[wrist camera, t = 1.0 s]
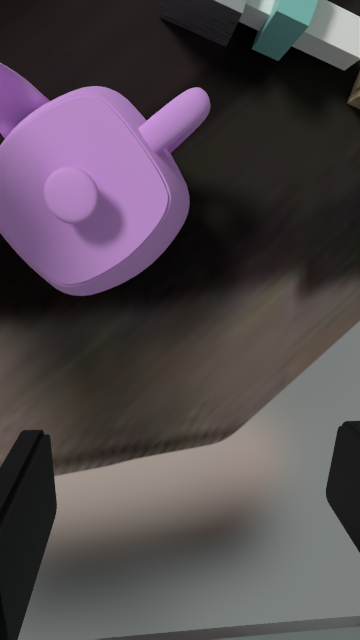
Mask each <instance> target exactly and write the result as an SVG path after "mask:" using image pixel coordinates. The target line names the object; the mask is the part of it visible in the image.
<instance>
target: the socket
mask: <svg viewBox="0 0 360 640" xmlns="http://www.w3.org/2000/svg"><path fill="white" fill-rule="evenodd" d="M347 104H350V105H352V106H354V107H356V108H359V109H360V71H359V74H358V76H357V79H356V81H355V83H354V86H353V88H352V91H351V93H350V96H349V98H348V101H347Z"/></svg>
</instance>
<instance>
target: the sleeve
mask: <svg viewBox="0 0 360 640" xmlns="http://www.w3.org/2000/svg"><path fill="white" fill-rule="evenodd" d="M245 4H246V0H161V5H160V18H162V19H165V20H167V21H169V22H171V23H174V24H176V25H178V26H180V27H183V28H185V29H187V30H189V31H192V32H194V33H196V34H198V35H200V36H203V37H205V38H207V39H209V40H212V41H214V42H216V43H218V44H221V45H223V46H225V47H226V46H227V44H228V42H229V40H230V38H231V36H232V34H233V32H234V30H235V28H236V26H237V24H238V22H239V20H240V17H241V15H242V13H243V10H244V7H245Z"/></svg>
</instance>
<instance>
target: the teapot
mask: <svg viewBox="0 0 360 640" xmlns="http://www.w3.org/2000/svg"><path fill="white" fill-rule="evenodd" d="M209 111H210V99H209V97H208V95H207V93H206V92H205V91H204V90H203V89H201V88H198V87H196V88H191V89H188V90H186V91H185V92H183V93H181V94H180V95H179V96H177V97H176V98H175V99H173V100H172V101H171V102H169V103H168V104H167V105H166V106H164V107H163V108H162V109H161V110H159V111H158V112H157V113H156V114H154V115H153V116H152V117H151V118H150V119H148V120H147V121H146V120H145V118H144V117H143V116H142V115H141V114H140V113H139V112H138V110H137V109H136V108H135V107H134V106H133V105H132V104H131V103H130V102H129V101H128V100H127V99H126V98H125V97H124V96H122V95H121V94H119V93H118V92H116V91H114V90H111V89H109V88H106V87H100V86H91V87H84V88H81V89H77V90H74V91H71V92H69V93H66V94H64V95H62V96H60V97H58V98H56V99H54V100H52V101H49V100H48V99H47V98H46V97H45V96H44V95H42V94H41V93H40V92H39V91H38V90H37V89H36V88H35V87H34V86H33V85H32V84H31V83H29V82H28V81H27V80H26V79H24V78H23V77H22V76H20V75H19V74H18V73H16V72H15V71H13V70H11V69H10V68H8V67H7V66H5V65H3V64H2V63H0V133H1V134H2V135H3V137H4V138H5V140H4V141H3V143H2V144H1V145H0V233H1V234H2V236H3V237H4V238H5V240H6V241H7V242H8V243H9V245H10V246H11V247H12V248H13V249H14V250H15V251H16V253H17V254H18V255H19V256H20V257H21V258H22V259H23V260H24V261H25V262H26V263H27V264H28V265H29V266H30V267H31V268H32V269H33V270H35V271H36V272H37V273H38V274H39V275H40V276H41V277H42V278H44V279H45V280H46V281H47V282H49V283H50V284H51V285H52V286H53V287H55V288H56V289H58V290H60V291H62V292H63V293H66V294H70V295H76V296H86V295H93V294H96V293H99V292H102V291H105V290H108V289H110V288H113V287H115V286H117V285H120V284H122V283H124V282H126V281H128V280H129V279H131V278H133V277H135V276H136V275H138V274H139V273H140V272H142V271H143V270H145V269H146V268H147V267H148V266H150V265H151V264H152V263H153V262H154V261H155V260H156V259H157V258H158V257H159V256H160V255H161V254H162V253H163V252H164V251H165V250H166V249H167V247H168V246H169V245H170V244H171V242H172V241H173V239H174V238H175V237H176V235H177V234H178V232H179V231H180V229H181V227H182V226H183V224H184V222H185V220H186V217H187V215H188V211H189V205H190V199H189V192H188V188H187V185H186V183H185V181H184V178H183V176H182V174H181V172H180V170H179V168H178V166H177V165H176V163H175V161H174V159H173V157H172V155H171V154H170V153H171V152H172V151H173V150H174V149H175V148H177V147H178V146H179V145H180V144H181V143H182V142H183V141H184V140H185V139H186V138H187V137H188V136H189V135H190V134H191V133H192V132H193V131H194V130H195V129H196V128H197V127H198V126H199V125H200V124H201V123H202V122H203V121H204V120H205V118H206V117H207V115H208V114H209Z"/></svg>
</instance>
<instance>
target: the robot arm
mask: <svg viewBox="0 0 360 640" xmlns="http://www.w3.org/2000/svg"><path fill="white" fill-rule="evenodd" d="M326 497H327V500H328V503H329V504H330V506H331V507H332V509H333V511H334V512H335V514H336V515H337V517H338V519H339V520H340V522H341V523H342V525H343V527H344V528H345V530H346V532H347V533H348V535H349V536H350V538H351V539H352V541H353V543H354V544H355V546H356V547H357V549H358V551H359V552H360V421H346V422H344V423H343V424H342V426H340V427H339V428H338V431H337V437H336V441H335V447H334V452H333V457H332V462H331V467H330V472H329V477H328V482H327V487H326ZM56 503H57V502H56V492H55V483H54V472H53V462H52V452H51V441H50V436H49V435H44V432H43V430H24V431H22V432H21V433H20V435H19V437H18V438H17V440H16V442H15V444H14V445H13V447H12V449H11V450H10V452H9V454H8V456H7V457H6V459H5V461H4V462H3V464H2V466H1V468H0V640H17V639H18V636H19V633H20V629H21V626H22V623H23V620H24V617H25V613H26V610H27V607H28V603H29V600H30V597H31V594H32V591H33V587H34V584H35V580H36V577H37V574H38V571H39V568H40V564H41V561H42V558H43V555H44V551H45V548H46V545H47V542H48V538H49V535H50V532H51V529H52V525H53V522H54V519H55V515H56V508H57V507H56V506H57V504H56ZM94 640H360V616H352V617H339V618H327V619H315V620H303V621H291V622H280V623H268V624H256V625H245V626H233V627H221V628H210V629H201V630H200V629H199V630H188V631H177V632H167V633H156V634H145V635H134V636H125V637H112V638H102V639H94Z"/></svg>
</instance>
